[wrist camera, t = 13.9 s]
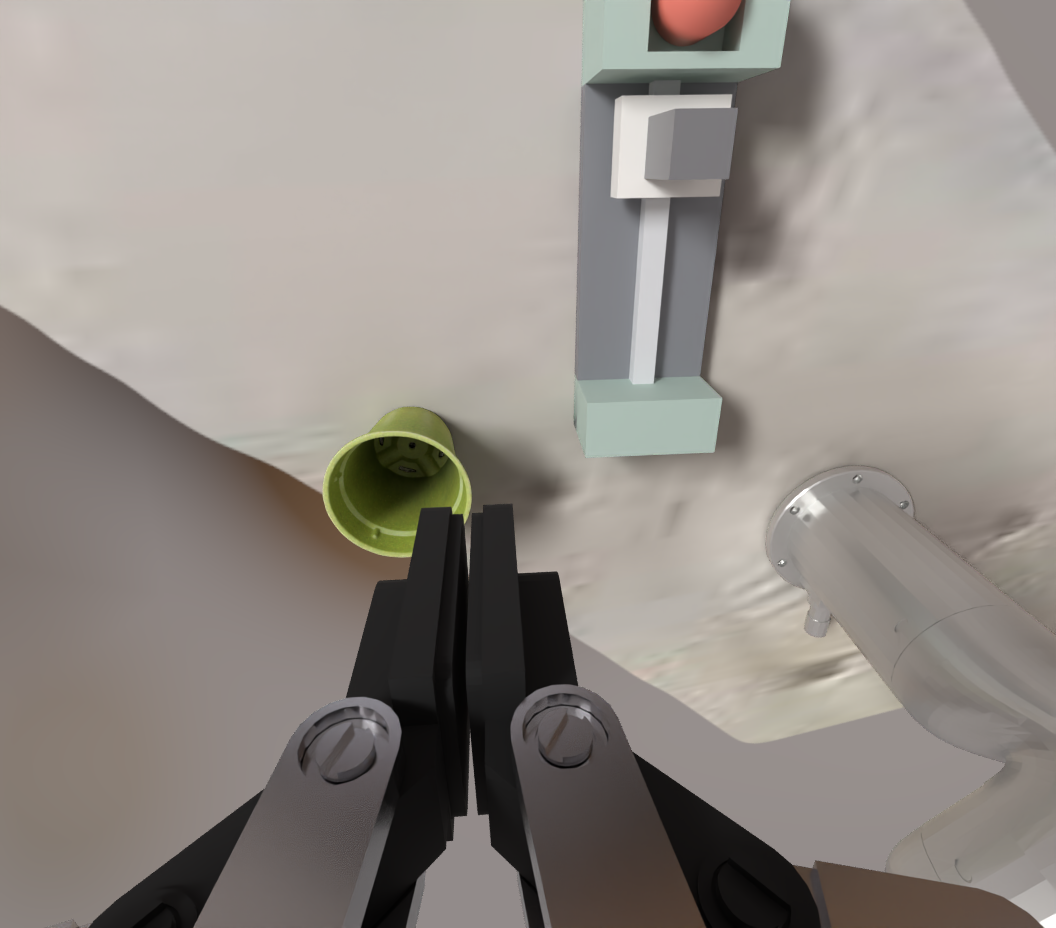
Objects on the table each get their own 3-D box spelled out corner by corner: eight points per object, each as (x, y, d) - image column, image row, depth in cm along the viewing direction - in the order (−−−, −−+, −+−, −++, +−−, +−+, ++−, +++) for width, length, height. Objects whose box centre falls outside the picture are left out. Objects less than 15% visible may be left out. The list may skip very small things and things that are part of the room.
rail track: (687, 418, 45) (719, 458, 39) (573, 423, 45) (587, 464, 38) (743, -42, 32) (804, -92, 26) (584, -42, 32) (608, -93, 26)
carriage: (707, 194, 35) (755, 200, 29) (610, 196, 35) (637, 203, 29) (718, 98, 33) (773, 82, 27) (615, 99, 32) (645, 83, 26)
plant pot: (358, 372, 42) (328, 418, 34) (485, 397, 43) (484, 447, 36) (345, 482, 46) (317, 545, 38) (462, 502, 47) (457, 567, 40)
